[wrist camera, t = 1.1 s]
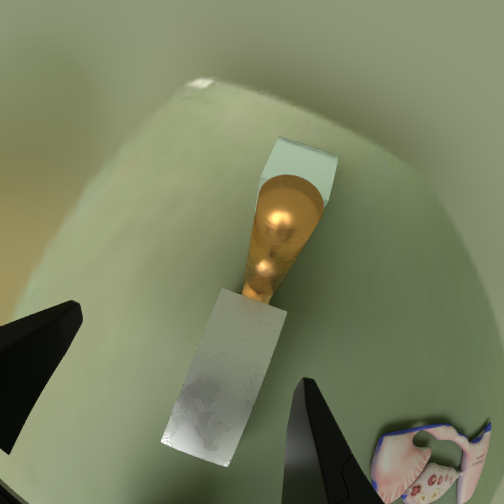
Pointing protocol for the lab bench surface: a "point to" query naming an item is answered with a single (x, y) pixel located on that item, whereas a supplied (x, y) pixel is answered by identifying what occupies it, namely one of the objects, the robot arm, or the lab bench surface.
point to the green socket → (301, 165)
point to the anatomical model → (417, 472)
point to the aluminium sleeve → (224, 378)
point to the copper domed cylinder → (279, 232)
